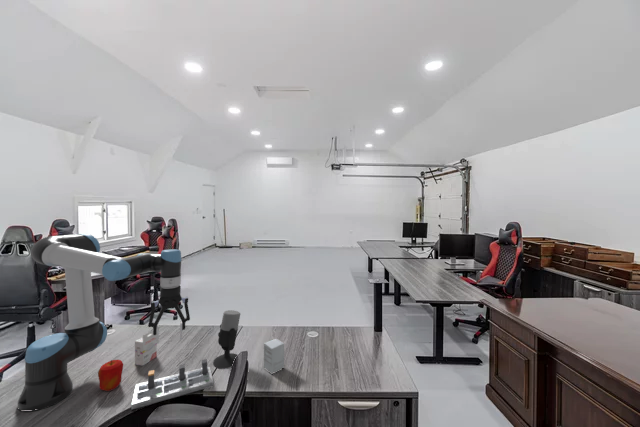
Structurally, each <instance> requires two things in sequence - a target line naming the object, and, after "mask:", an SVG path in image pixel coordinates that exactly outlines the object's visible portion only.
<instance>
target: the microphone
mask: <svg viewBox="0 0 640 427" xmlns="http://www.w3.org/2000/svg"><path fill="white" fill-rule="evenodd" d="M240 319H241V312H240V311H237V310H225V311H224V312H223V315H222V320H221V324H220V325H219V332H218V333H217V335H218V340H217V342H218V344H219V346H220V347H221V349H222V350H223V351H224V352H223V353H224V354H220V355H219V356H217V357H216V358H214V360H213V362H212V365H213V367H214V368H216V369H220V370H225V368H227V369H230V368H233V367H232V364H233V361H234V359H235V357H236V356H237V355H238V354H236V353H234V352H233V353H231V351H232V350H234V348H235V345H236V340H237V334H238V329H239V324H240Z"/></svg>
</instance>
